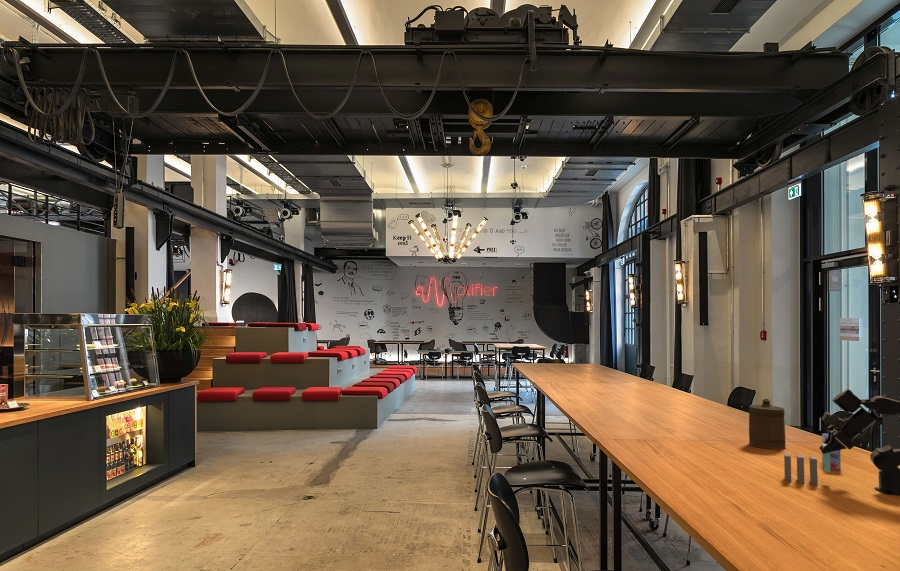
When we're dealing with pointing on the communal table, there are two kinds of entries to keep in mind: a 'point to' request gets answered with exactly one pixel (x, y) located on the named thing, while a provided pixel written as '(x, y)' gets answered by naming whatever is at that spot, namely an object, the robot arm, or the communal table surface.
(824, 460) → the domino
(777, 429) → the wooden container
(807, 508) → the communal table surface
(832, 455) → the ink cartridge box
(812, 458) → the domino
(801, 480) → the domino
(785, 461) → the domino end
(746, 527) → the communal table surface
